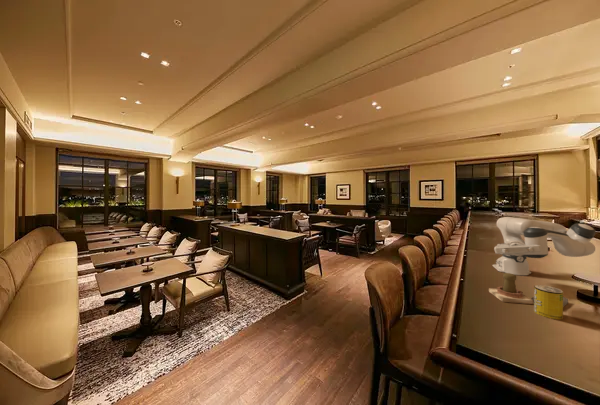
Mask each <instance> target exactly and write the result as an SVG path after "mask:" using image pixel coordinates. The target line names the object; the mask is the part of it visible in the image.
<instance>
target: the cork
mask: <svg viewBox="0 0 600 405" xmlns="http://www.w3.org/2000/svg"><path fill="white" fill-rule="evenodd" d="M502 276H503V277H502V278H503V279H504V281H503V291H505V292H509V293H517V291H516V289H517V287H516V286H517V285H516V280H517V275H515V274H511V273H505V272H503V274H502Z"/></svg>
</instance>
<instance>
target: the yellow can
mask: <svg viewBox="0 0 600 405" xmlns="http://www.w3.org/2000/svg"><path fill="white" fill-rule="evenodd" d="M533 287H534V288H533V289H534V290H533V297H534V303H533V312H534V314H537V315H538V316H541V317H543V318H546V319H550V318H551V319H550V320H556V321H557V320H563V318H564V306H563V297H564V291H563V290H562V289H560V288H557V287H553V286H549V285H543V284H537V285H536V284H535V285H534V286H533Z"/></svg>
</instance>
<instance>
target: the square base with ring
mask: <svg viewBox="0 0 600 405" xmlns="http://www.w3.org/2000/svg"><path fill="white" fill-rule="evenodd" d="M516 291H517V293H509V292H505V291H503V286H497V287H496V288H493V287H488V292H489V293H490V294H492V295H493V296H494V297H496V298H497V299H499V300H500V301H501V302H503V303H513V304H525V305H534V303H533V300H532V299H531V298H530V297H529V296H527V295H525V294H523V291H522V290H520V289H517V288H516Z"/></svg>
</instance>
